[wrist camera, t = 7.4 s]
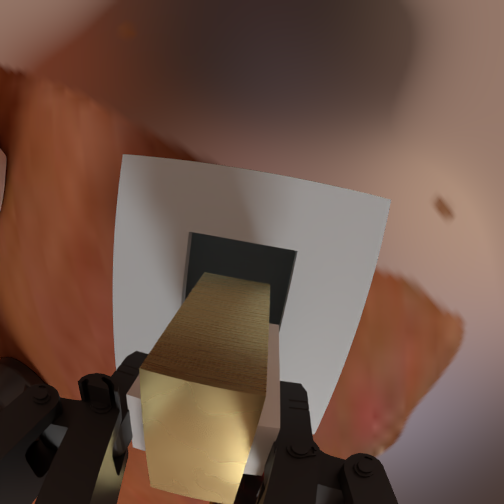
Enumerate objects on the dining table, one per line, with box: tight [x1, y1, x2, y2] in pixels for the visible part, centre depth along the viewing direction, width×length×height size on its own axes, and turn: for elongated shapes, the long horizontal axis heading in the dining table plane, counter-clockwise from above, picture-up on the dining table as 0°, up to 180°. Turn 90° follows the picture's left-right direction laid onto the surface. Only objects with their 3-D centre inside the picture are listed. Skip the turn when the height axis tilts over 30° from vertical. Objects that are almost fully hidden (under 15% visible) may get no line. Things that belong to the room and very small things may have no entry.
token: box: [139, 272, 270, 504], centre depth 11 cm, size 3×6×8 cm, turn 171°
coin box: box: [113, 154, 391, 434], centre depth 21 cm, size 14×16×10 cm
